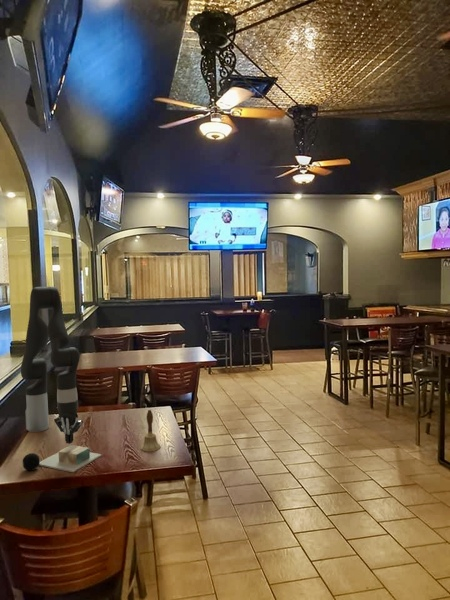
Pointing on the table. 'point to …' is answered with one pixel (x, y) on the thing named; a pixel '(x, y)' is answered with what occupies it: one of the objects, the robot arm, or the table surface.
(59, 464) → the mat
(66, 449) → the block
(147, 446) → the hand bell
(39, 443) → the table surface
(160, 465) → the table surface
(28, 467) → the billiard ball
